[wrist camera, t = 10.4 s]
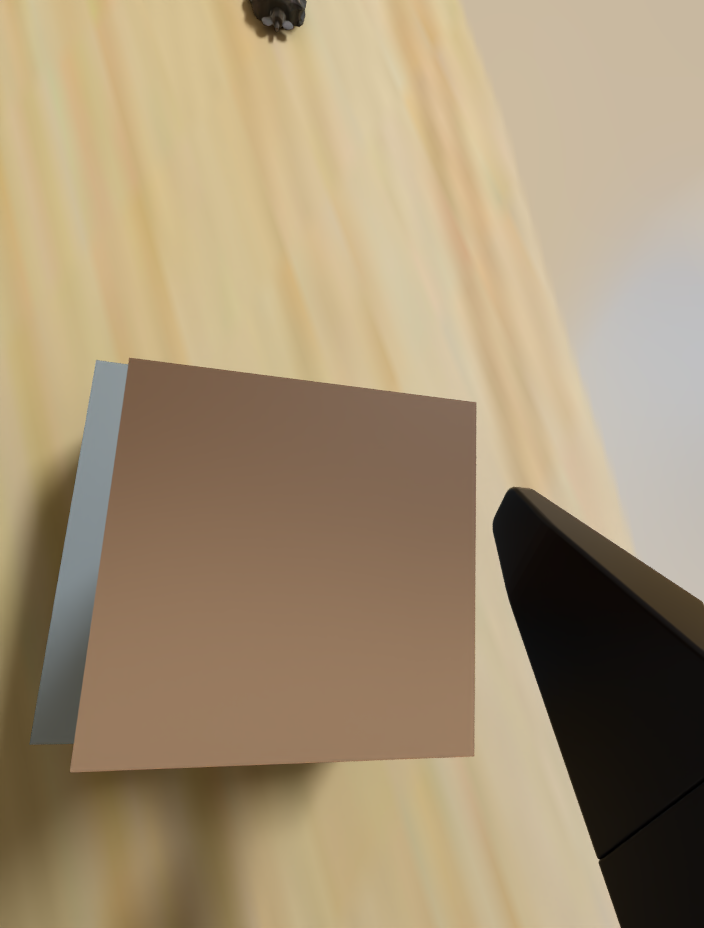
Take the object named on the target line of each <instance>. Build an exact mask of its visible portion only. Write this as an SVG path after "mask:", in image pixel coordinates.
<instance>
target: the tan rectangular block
mask: <svg viewBox="0 0 704 928" xmlns="http://www.w3.org/2000/svg"><path fill="white" fill-rule="evenodd" d="M475 540H476V402H469V401H461V400H453V399H445V398H438V397H430V396H422V395H414V394H406V393H399V392H391V391H383V390H375V389H368V388H360V387H352V386H344V385H337V384H329V383H321V382H313V381H306V380H298V379H290V378H282V377H275V376H267V375H259V374H251V373H243V372H236V371H228V370H220V369H212V368H205V367H197V366H189V365H181V364H174V363H166V362H158V361H150V360H143V359H135V358H129V363H128V370H127V377H126V384H125V391H124V398H123V405H122V412H121V419H120V426H119V433H118V440H117V447H116V454H115V461H114V468H113V475H112V482H111V489H110V495H109V502H108V509H107V516H106V523H105V530H104V537H103V544H102V551H101V558H100V565H99V572H98V579H97V586H96V593H95V600H94V607H93V614H92V621H91V628H90V635H89V642H88V649H87V656H86V663H85V669H84V676H83V683H82V690H81V697H80V704H79V711H78V718H77V725H76V732H75V739H74V746H73V753H72V760H71V767H70V772H93V771H118V770H143V769H168V768H193V767H218V766H243V765H269V764H294V763H319V762H344V761H369V760H395V759H420V758H445V757H470V756H474V705H475Z"/></svg>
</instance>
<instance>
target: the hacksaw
mask: <svg viewBox="0 0 704 928" xmlns="http://www.w3.org/2000/svg"><path fill="white" fill-rule="evenodd" d="M249 1H250V2H251V4H252V8H253V11H254V14H255V16H256V17H257V18H258V19H259V20H261V21H262V22H263V25H266V26H271V25H273V26H274V27H275V31H276V32H279V28H281V27H282V26H283V28H284V29H286V30H290V29H293V25H295V26H301V25H303V22H304V18H305V7H306V0H249Z"/></svg>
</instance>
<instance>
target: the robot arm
mask: <svg viewBox="0 0 704 928" xmlns="http://www.w3.org/2000/svg"><path fill="white" fill-rule="evenodd" d="M493 534H494V538H495V543H496V547H497V552H498V556H499V560H500V565H501V569H502V574H503V578H504V582H505V587H506V591H507V595H508V598H509V602H510V605H511V608H512V611H513V614H514V617H515V620H516V623H517V626H518V628H519V631H520V634H521V637H522V640H523V643H524V646H525V649H526V652H527V655H528V658H529V661H530V663H531V666H532V669H533V672H534V675H535V678H536V681H537V684H538V687H539V690H540V693H541V695H542V698H543V701H544V704H545V707H546V710H547V713H548V716H549V719H550V722H551V725H552V728H553V730H554V733H555V736H556V739H557V742H558V745H559V748H560V751H561V754H562V757H563V760H564V763H565V765H566V768H567V771H568V774H569V777H570V780H571V783H572V786H573V789H574V792H575V795H576V797H577V800H578V803H579V806H580V809H581V812H582V815H583V818H584V821H585V824H586V827H587V830H588V832H589V835H590V838H591V841H592V844H593V847H594V850H595V853H596V856H597V858H598V859H600V860H599V866H600V868H601V871H602V874H603V877H604V880H605V883H606V886H607V889H608V892H609V895H610V898H611V900H612V903H613V906H614V909H615V912H616V915H617V918H618V921H619V924H620V927H621V928H704V604H703V602H702V601H700V600H699V599H697V598H696V597H694V596H693V595H691V594H690V593H688V592H687V591H685V590H684V589H682V588H681V587H679V586H678V585H676V584H675V583H673V582H672V581H670V580H669V579H667V578H666V577H664V576H663V575H661V574H660V573H658V572H657V571H655V570H653V569H652V568H651V567H649V566H648V565H646V564H645V563H643V562H642V561H640V560H639V559H637V558H636V557H634V556H633V555H631V554H630V553H628V552H627V551H625V550H624V549H622V548H620V547H619V546H617V545H616V544H614V543H613V542H611V541H610V540H608V539H607V538H605V537H604V536H602V535H601V534H599V533H598V532H596V531H595V530H593V529H592V528H590V527H589V526H587V525H586V524H584V523H583V522H581V521H580V520H578V519H577V518H575V517H574V516H572V515H571V514H569V513H568V512H566V511H565V510H563V509H562V508H560V507H559V506H557V505H556V504H554V503H553V502H551V501H550V500H548V499H547V498H545V497H543V496H542V495H540V494H539V493H537V492H536V491H534V490H533V489H530V488H521V487H512V488H510V489H509V490H508V491H507V492H506V494H505V496H504V498H503V500H502V502H501V504H500V507H499V509H498V511H497V513H496V515H495V517H494V520H493Z"/></svg>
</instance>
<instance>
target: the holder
mask: <svg viewBox="0 0 704 928" xmlns="http://www.w3.org/2000/svg"><path fill="white" fill-rule="evenodd" d="M127 370H128V364H121V363H113V362H106V361H99V360H96V365H95V370H94V376H93V382H92V388H91V393H90V399H89V405H88V411H87V416H86V422H85V428H84V434H83V439H82V445H81V451H80V457H79V462H78V468H77V474H76V480H75V485H74V491H73V497H72V503H71V508H70V514H69V520H68V526H67V531H66V537H65V543H64V549H63V554H62V560H61V566H60V572H59V577H58V583H57V589H56V595H55V600H54V606H53V612H52V618H51V623H50V629H49V635H48V641H47V646H46V652H45V658H44V664H43V669H42V675H41V681H40V687H39V692H38V698H37V704H36V710H35V715H34V721H33V727H32V733H31V738H30V744H74V739H75V732H76V725H77V718H78V711H79V704H80V697H81V690H82V683H83V676H84V669H85V663H86V656H87V649H88V642H89V635H90V628H91V621H92V614H93V607H94V600H95V593H96V586H97V579H98V572H99V565H100V558H101V551H102V544H103V537H104V530H105V523H106V516H107V509H108V502H109V495H110V489H111V482H112V475H113V468H114V461H115V454H116V447H117V440H118V433H119V426H120V419H121V412H122V405H123V398H124V391H125V384H126V377H127Z"/></svg>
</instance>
